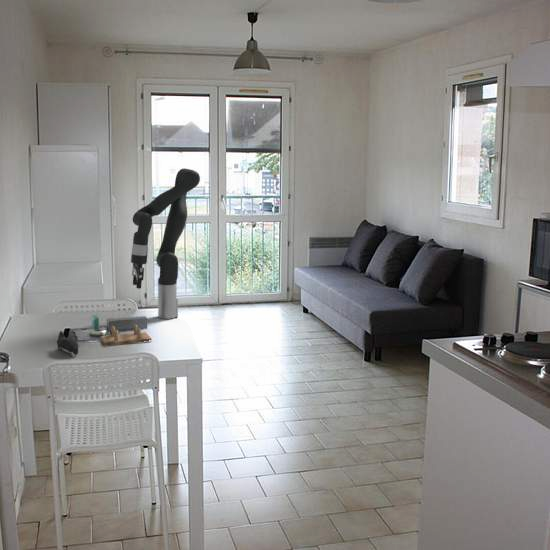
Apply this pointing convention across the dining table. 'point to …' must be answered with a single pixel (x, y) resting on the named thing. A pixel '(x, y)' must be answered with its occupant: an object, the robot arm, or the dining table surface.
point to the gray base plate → (92, 337)
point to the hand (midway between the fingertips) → (136, 286)
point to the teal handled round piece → (96, 327)
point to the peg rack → (125, 337)
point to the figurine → (67, 344)
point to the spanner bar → (127, 323)
